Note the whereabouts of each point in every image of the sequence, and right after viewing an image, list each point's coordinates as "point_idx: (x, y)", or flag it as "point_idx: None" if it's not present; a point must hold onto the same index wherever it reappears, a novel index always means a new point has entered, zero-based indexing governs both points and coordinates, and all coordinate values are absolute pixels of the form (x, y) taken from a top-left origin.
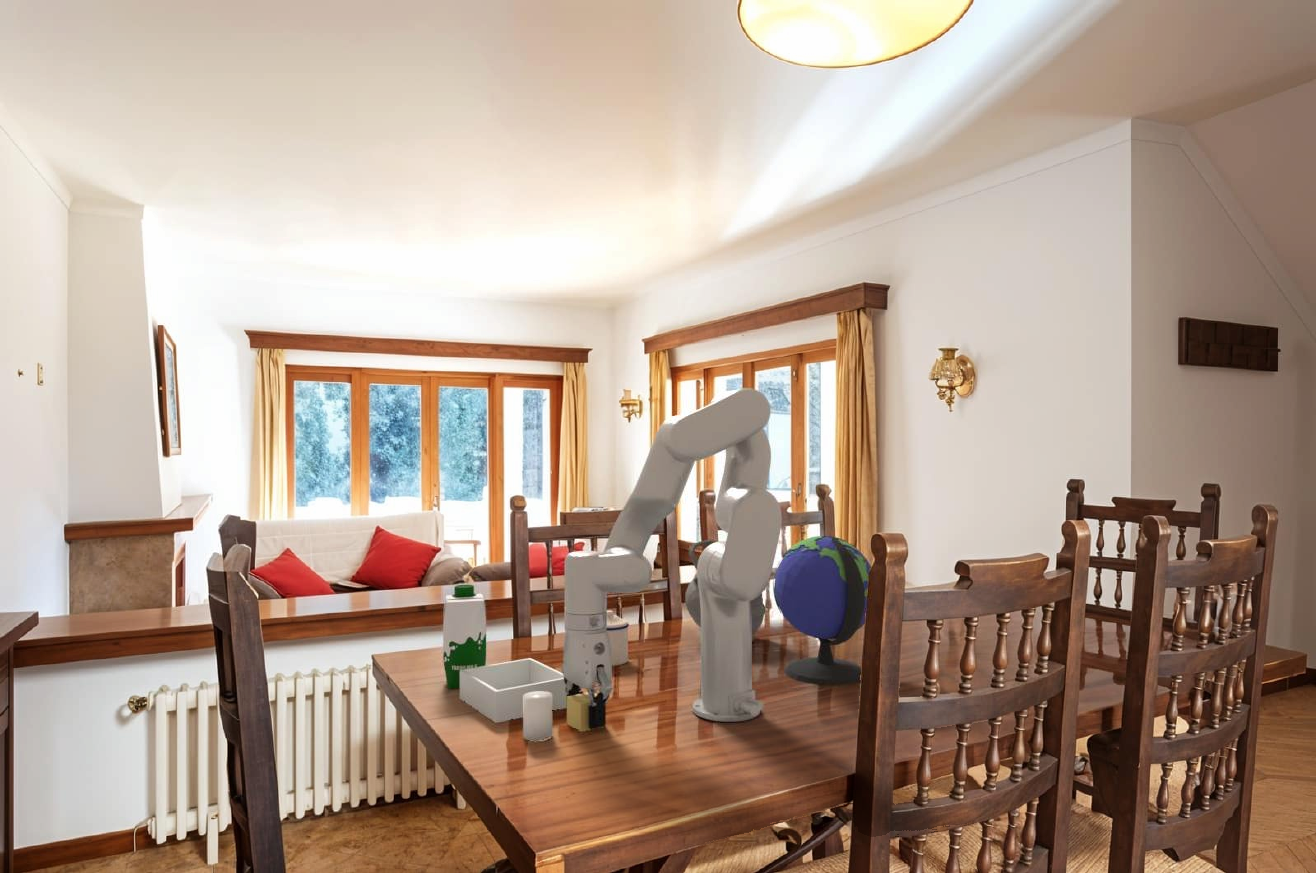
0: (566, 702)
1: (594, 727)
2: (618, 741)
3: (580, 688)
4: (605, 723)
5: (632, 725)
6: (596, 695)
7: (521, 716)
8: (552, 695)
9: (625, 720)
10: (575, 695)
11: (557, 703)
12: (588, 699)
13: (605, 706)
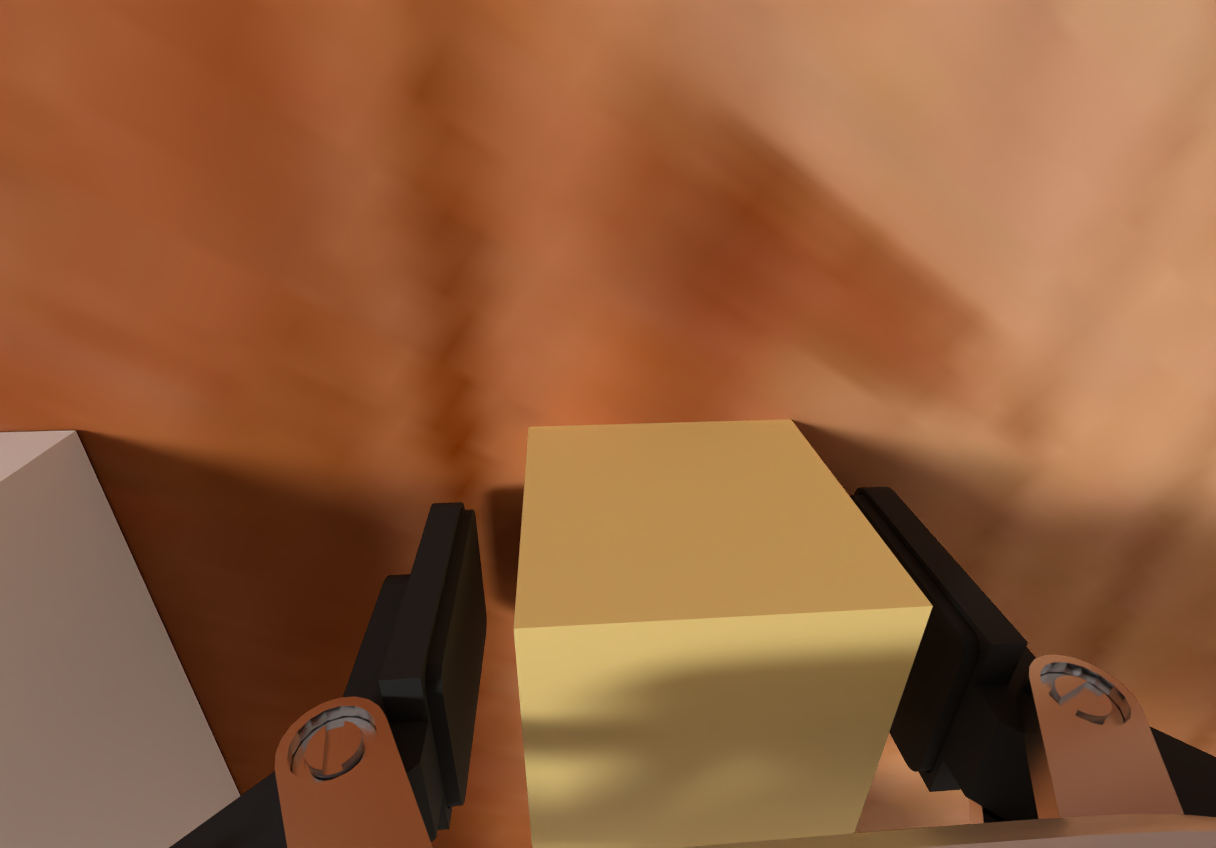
0: (59, 516)
1: None
2: (1115, 491)
3: (399, 756)
4: (895, 494)
5: (973, 186)
6: (730, 639)
7: (233, 799)
8: (47, 731)
9: (802, 158)
10: (555, 806)
11: (96, 609)
12: (795, 756)
13: (996, 610)
